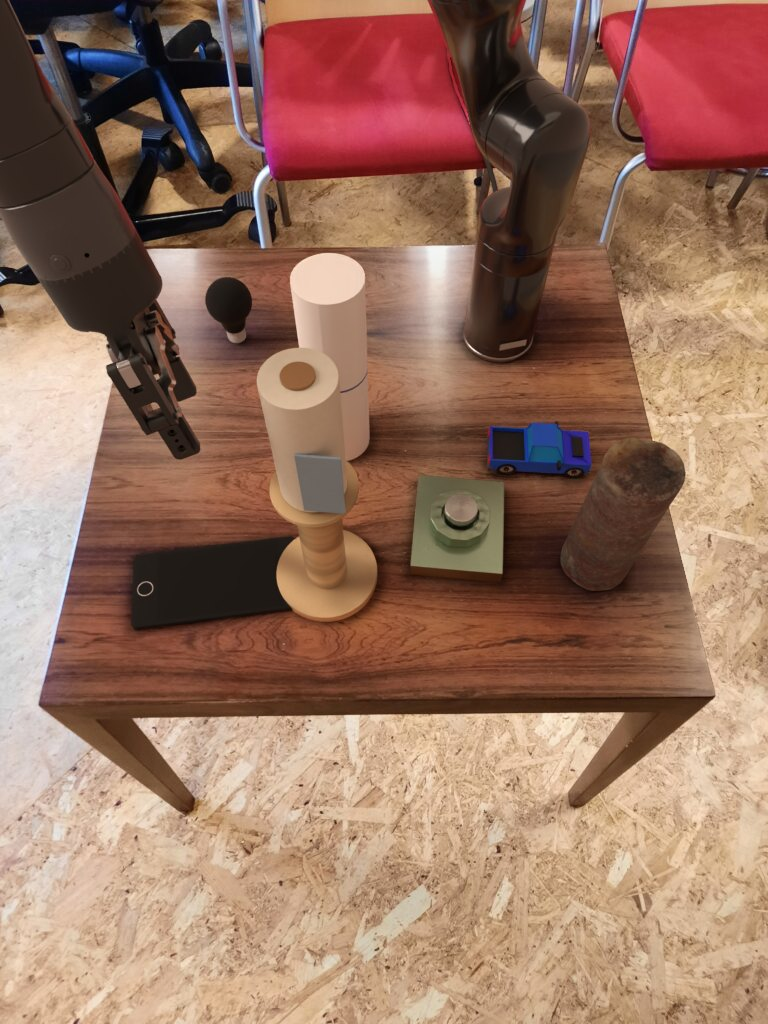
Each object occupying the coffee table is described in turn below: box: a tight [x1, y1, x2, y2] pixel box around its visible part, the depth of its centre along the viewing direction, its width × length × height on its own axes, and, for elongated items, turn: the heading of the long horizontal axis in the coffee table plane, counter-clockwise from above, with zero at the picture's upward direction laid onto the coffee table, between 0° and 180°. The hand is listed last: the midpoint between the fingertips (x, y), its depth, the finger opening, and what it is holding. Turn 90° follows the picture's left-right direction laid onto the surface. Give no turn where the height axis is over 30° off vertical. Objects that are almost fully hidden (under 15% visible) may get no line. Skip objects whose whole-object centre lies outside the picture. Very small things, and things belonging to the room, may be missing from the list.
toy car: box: [486, 421, 592, 480], centre depth 87 cm, size 7×12×5 cm, turn 86°
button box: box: [409, 474, 505, 584], centre depth 82 cm, size 12×10×4 cm
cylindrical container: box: [289, 252, 371, 462], centre depth 80 cm, size 7×7×25 cm
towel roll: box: [256, 347, 347, 514], centre depth 59 cm, size 6×6×14 cm
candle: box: [560, 436, 687, 592], centre depth 73 cm, size 8×7×20 cm
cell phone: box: [130, 535, 296, 631], centre depth 80 cm, size 9×18×1 cm, turn 98°
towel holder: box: [268, 460, 378, 623], centre depth 73 cm, size 11×11×18 cm
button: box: [444, 494, 478, 530], centre depth 80 cm, size 4×4×2 cm
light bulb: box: [204, 276, 253, 344], centre depth 95 cm, size 6×6×10 cm
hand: (188, 423), depth 62 cm, fingers open, 8 cm apart
